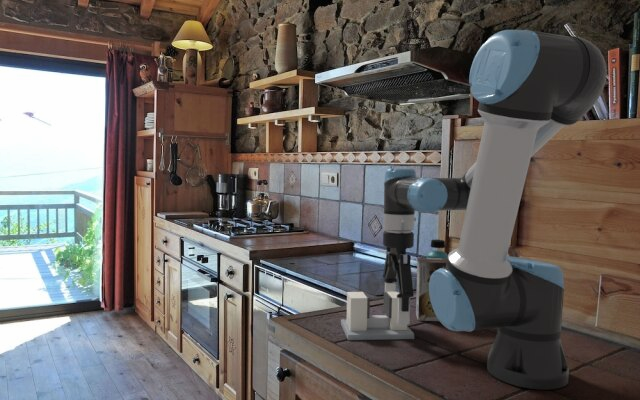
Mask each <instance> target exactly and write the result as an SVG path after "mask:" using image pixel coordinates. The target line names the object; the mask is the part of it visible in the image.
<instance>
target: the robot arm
mask: <svg viewBox="0 0 640 400" xmlns="http://www.w3.org/2000/svg"><path fill="white" fill-rule="evenodd" d="M469 70H470V71H469V78H468V83H469V86H471V87H470V92H471V96H473V98H474V99H475V100H476V101H478V102H479V103H478V107H477V112H478V114H479V115H480V117H481V118H482V119H483V122H484V123H483V128H482V133H481V136H480V143H479V147H478V152H477V157H476V161H475V162H474V163H473V164H472V165H471V167H470V168H469V169H468V170H467V171H466V172H465V173H464V174H463V175H462V176H461V177H417V174H416V173H417V172H416V171H415V169H414V168H395V167H394V168H393V167H392V168H389V167H388V169H386V170H385V173H384V182H383V188H384V190H383V191H384V192H383V194H384V195H383V215H382V216H383V222H382V223H383V224H382V228H383V229H384V230H385V231H383V233H382V236H383V237H382V244H383V245H382V246H384V247H385V248H386V254H385V261H384V266H383V267H384V268H383V275H382V277H383V279H384V280H383V281H384V292H397V291H396V290H397V288H396V287H398V292H399V294H398V295H397V298H398V319H397V324H407V325H410V318H411V316H410V313H411V311H410V310H411V298H413V297H414V287H413V276H412V267H411V258H412V257H411V254H407V249H411V248H413V247H414V244H415V243H414V242H415V233H414V232H413V230H414V229H415V222H416V221H417V217H415V212H416V211H419V212H420V213H436V212H438V211H439V212H440V211H465V214H464V218H463V223H462V229H461V233H460V239H459V242H458V247H457V248H454V249H453V250H451V251H450V252H449V253H448V254H447V255H448V259H447V264H446V268H445V269H443V268H440V269H438V270H436V271H435V272H434V273H433V274H432V275H431V278H430V282H429V295H430V300H431V304H432V307H433V310H434V312H435V314H436V316H437V318H438V319H439V321H438V322H440V323H441V324H442V326H443V327H445V328H446V329H448V330H449V331H452V332H469V333H471V332H472V331H478V330H479V331H480V330H487V329H497V333H496V335H495V337H494V339H493V343H492V345H491V347H490V350H489V353H488V355H487V361H486V362H487V363H486V366H487V367H486V368H487V371H488V372H489V374H490V375H491V376H492V377H494V378H495V379H498V380H499V381H501V382H503V383H506V384H509V385H513V386H515V387H519V388H525V389H531V390H533V389H534V390H539V391H541V390H545V391H547V390H549V391H550V390H557V389H561V388H564V387H565V386H567V385H568V383H569V376H570V375H569V373H570V370H569V366H568V362H567V359H566V355H565V352H564V349H563V345H562V341H561V338H562V337H561V334H562V321H563V305H564V294H565V292H564V291H565V285H564V272H563V270H562V268H561V267H560V266H558V265H557V264H554V263H550V262H546V261H541V260H537V259H536V260H535V259H531V258H525V257H519V256H511V255H510V256H509V255H508V252H509V248H510V245H511V241H512V237H513V232H514V228H515V224H516V219H517V216H518V212H519V207H520V204H521V203H520V202H521V200H522V195H523V191H524V187H525V182H526V179H527V175H528V171H529V166H530V162H531V158H532V157H534V155H535V154H536V153H538V151H540V149H541V148H542V147H544V146H545V145H546V144H547V143H548V142H549V141H550V140H551V139H552V138H553V137H554V136H555V135H556V134H558V132H560V131H561V130H562V129H563V128H564V127H565V126H566V127H568V126H569V127H570V126H573V125H575V124H577V122H579V121H580V120H581V119H582V118H583V117H584V116H586V114H587V113H588V112H589V111H590V110H591V109H592V108H593V106H594V105H595V104H596V103H597V101H598V99H599V98H600V96H601V95H602V93H603V90H604V88H605V85H606V81H607V75H608V74H607V65H606V60H605V57H604V56H603V54H602V52H601V50H600V49H599V48H598V47H597V46H596V44H594V43H593V42H591V41H590V40H587V39H586V38H583V37H579V36H575V35H574V36H573V35H561V34H554V33H548V32H541V31H535V30H528V29H504V30H501V31H498V32H496V33H494V34H493V35H490V37H488V39H487V40H486V41H484V43H482V45H481V46H480V47H479V49H478V51H477V52H476V54H475V55H474V57H473V61H472V64H471V67H470V69H469ZM396 285H397V286H396Z"/></svg>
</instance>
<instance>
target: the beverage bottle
mask: <svg viewBox="0 0 640 400" xmlns="http://www.w3.org/2000/svg"><path fill="white" fill-rule="evenodd" d="M430 248H435V249H436V250H430V251H428V252H427V253H426V258H448V255H449V254H447V252H446V251H443V250H437V249H445V248H446V241H445V240H443V239H431V240H430Z"/></svg>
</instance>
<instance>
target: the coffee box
mask: <svg viewBox="0 0 640 400" xmlns="http://www.w3.org/2000/svg"><path fill="white" fill-rule="evenodd" d="M447 259H448V258H427V257H417V260H416V263H417V264H416V294H415V295H416V297H415V298H416V300H415V302H416V303H415V304H416V306H415V315H416V318H417V321H419V322H420V321H421V322H422V321H424V322H440V321H439V319H438V318H437V316H436V314H435V312H434V310H433V307H432V304H431V300H430V295H429V282H430V278H431V275H432V274H433V273H434V272H435V271H436V270H438V269H440V268H443V269H445V268H446V264H447Z"/></svg>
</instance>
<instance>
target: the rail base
mask: <svg viewBox="0 0 640 400" xmlns="http://www.w3.org/2000/svg"><path fill="white" fill-rule="evenodd" d="M370 300H371V299H370V295H368V294H367V292H366V291H347V292H346V318H345V319H340V325H341V327H342V329H343V332H344V334H345V337H346V338H347V341H368V340H370V341H373V340H375V341H376V340H377V341H378V340H414V339H415V333H414V331H412V329H411V328H410V327H409V326H408V325H407V330H391V329H390V318H388V316H387V315H386V314H383V315H382V314H381V315H380V314H378V315H376V314H375V315H373V314H372V315H371V314H370V306H371V305H370V303H371V301H370Z"/></svg>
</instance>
